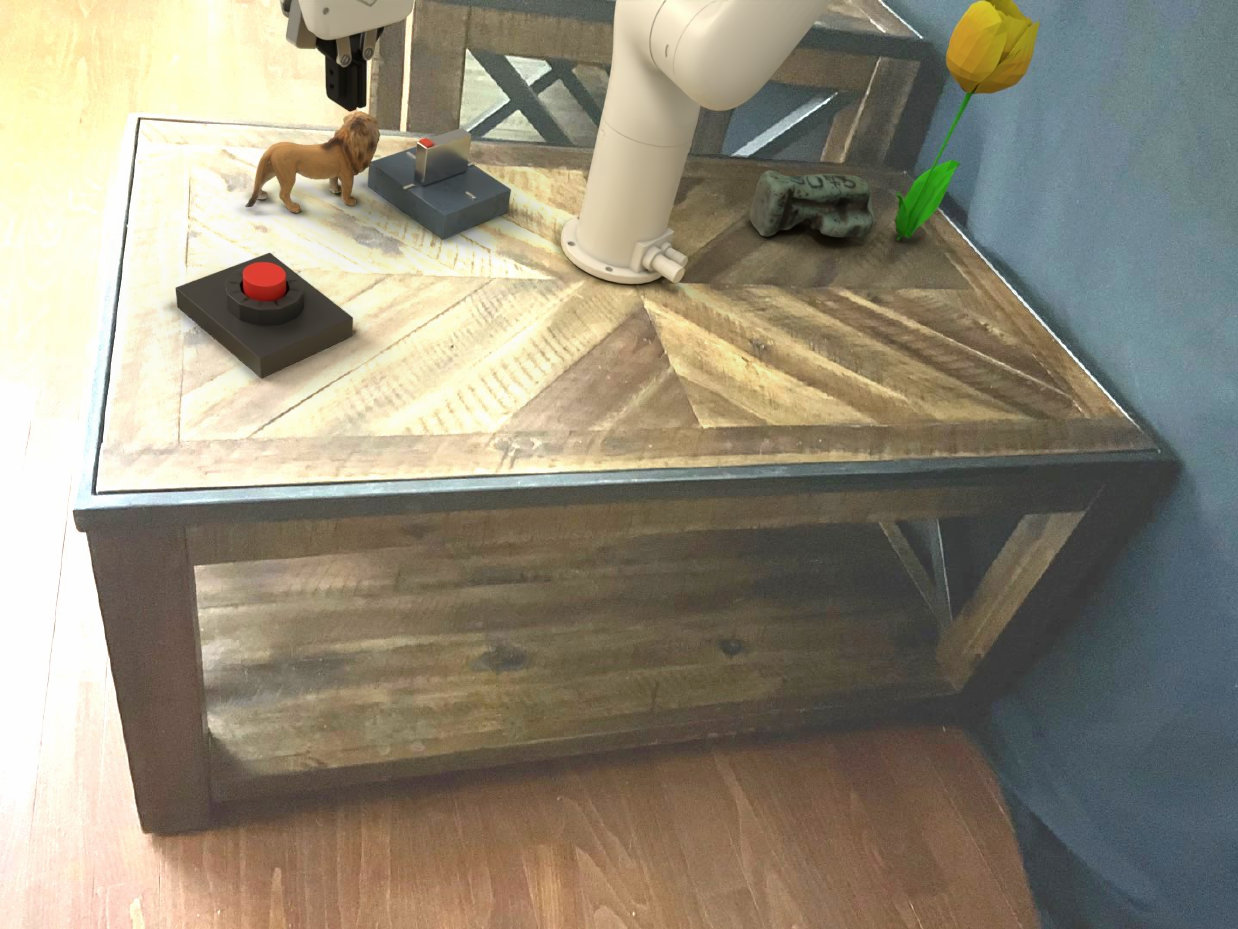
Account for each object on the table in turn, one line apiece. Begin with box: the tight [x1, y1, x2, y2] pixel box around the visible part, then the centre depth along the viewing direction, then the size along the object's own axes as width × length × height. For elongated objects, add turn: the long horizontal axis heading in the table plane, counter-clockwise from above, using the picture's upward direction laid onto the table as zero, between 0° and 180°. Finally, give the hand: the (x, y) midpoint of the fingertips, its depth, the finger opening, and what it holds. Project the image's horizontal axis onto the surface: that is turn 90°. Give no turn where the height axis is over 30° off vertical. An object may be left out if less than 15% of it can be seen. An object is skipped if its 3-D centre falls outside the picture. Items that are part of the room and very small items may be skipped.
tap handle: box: [414, 127, 473, 186], centre depth 110 cm, size 6×2×5 cm, turn 140°
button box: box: [175, 252, 354, 379], centre depth 92 cm, size 12×10×4 cm
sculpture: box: [749, 170, 876, 238], centre depth 125 cm, size 12×8×15 cm
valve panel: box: [367, 146, 512, 240], centre depth 113 cm, size 12×11×3 cm
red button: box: [243, 262, 286, 301], centre depth 90 cm, size 4×4×2 cm
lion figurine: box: [245, 110, 381, 214], centre depth 105 cm, size 15×5×9 cm, turn 129°
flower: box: [894, 0, 1041, 241], centre depth 120 cm, size 9×8×30 cm
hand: (346, 101), depth 86 cm, fingers closed
